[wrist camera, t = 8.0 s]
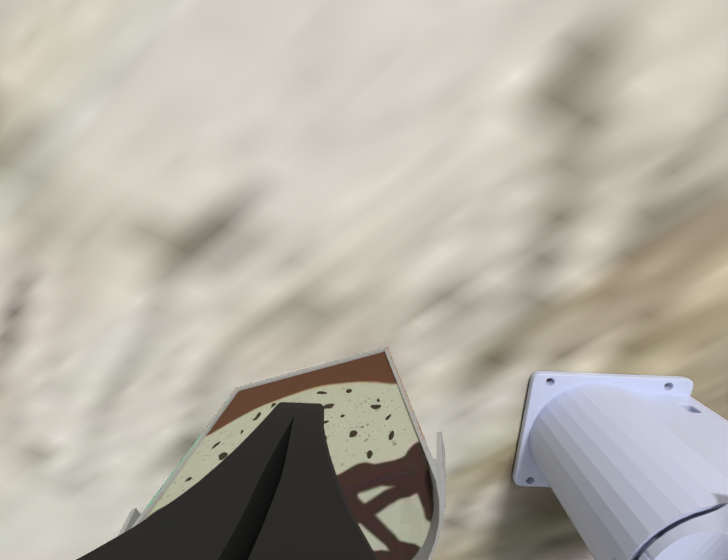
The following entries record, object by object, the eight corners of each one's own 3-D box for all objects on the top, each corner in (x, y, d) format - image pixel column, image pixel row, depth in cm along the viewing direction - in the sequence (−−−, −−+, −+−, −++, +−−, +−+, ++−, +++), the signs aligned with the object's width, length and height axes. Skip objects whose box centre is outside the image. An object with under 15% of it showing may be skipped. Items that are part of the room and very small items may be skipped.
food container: (250, 475, 23) (170, 682, 14) (212, 393, 22) (93, 562, 12) (437, 427, 22) (493, 613, 13) (412, 339, 21) (455, 475, 11)
